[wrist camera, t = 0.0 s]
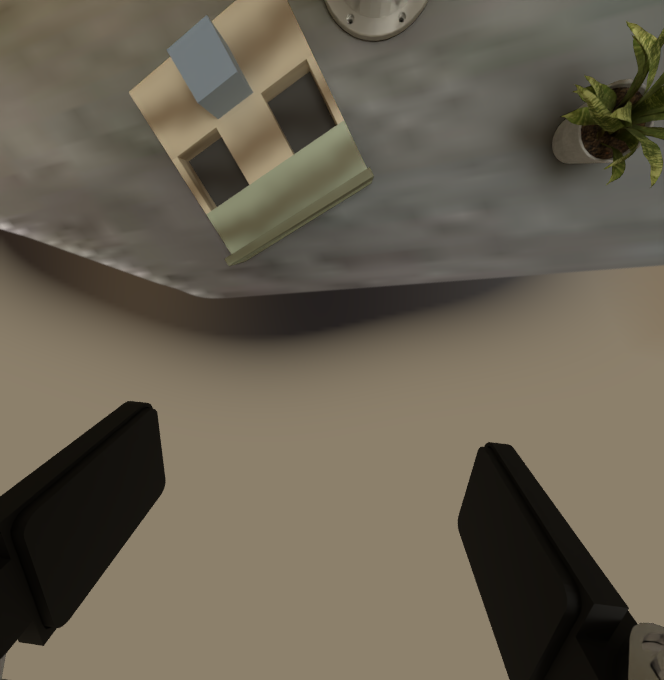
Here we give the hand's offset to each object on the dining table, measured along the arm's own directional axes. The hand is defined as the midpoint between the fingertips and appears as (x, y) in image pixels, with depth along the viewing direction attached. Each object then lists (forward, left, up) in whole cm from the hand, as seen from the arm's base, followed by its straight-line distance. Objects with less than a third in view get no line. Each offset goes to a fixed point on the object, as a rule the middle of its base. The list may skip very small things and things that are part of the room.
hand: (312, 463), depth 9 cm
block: (-26, -2, -34) cm, 43 cm away
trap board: (-20, -2, -37) cm, 42 cm away
